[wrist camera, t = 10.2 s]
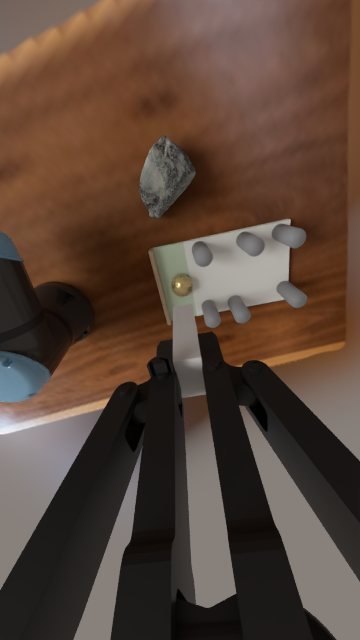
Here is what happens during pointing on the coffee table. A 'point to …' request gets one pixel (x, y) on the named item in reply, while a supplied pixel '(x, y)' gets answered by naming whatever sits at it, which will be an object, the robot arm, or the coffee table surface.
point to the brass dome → (182, 285)
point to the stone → (164, 176)
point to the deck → (230, 271)
